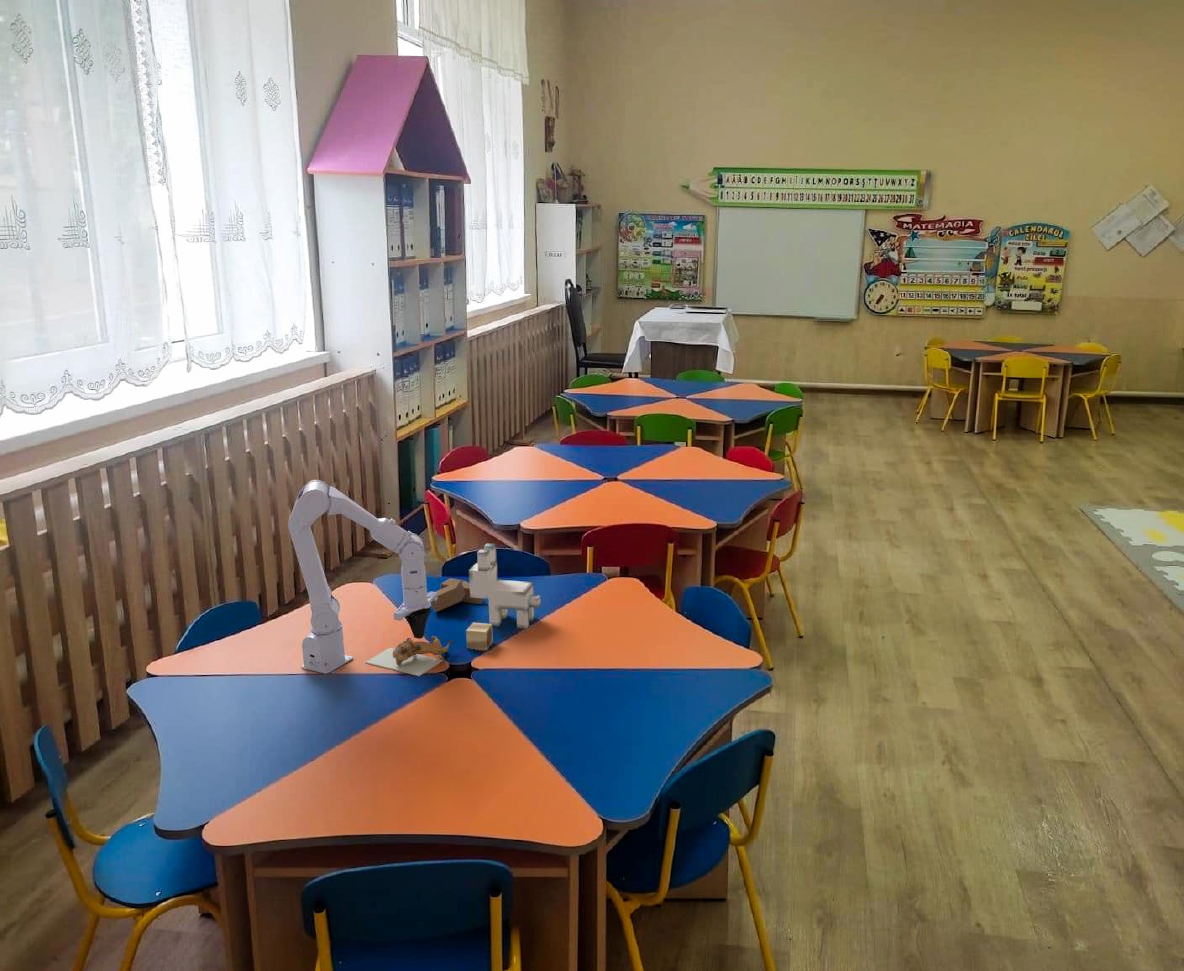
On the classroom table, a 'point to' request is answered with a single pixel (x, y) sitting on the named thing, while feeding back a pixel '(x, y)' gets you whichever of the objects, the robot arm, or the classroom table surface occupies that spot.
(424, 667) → the felt mat
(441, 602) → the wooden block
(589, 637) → the classroom table surface
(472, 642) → the tan cube
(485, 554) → the toy llama
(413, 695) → the classroom table surface
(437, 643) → the lion figurine
